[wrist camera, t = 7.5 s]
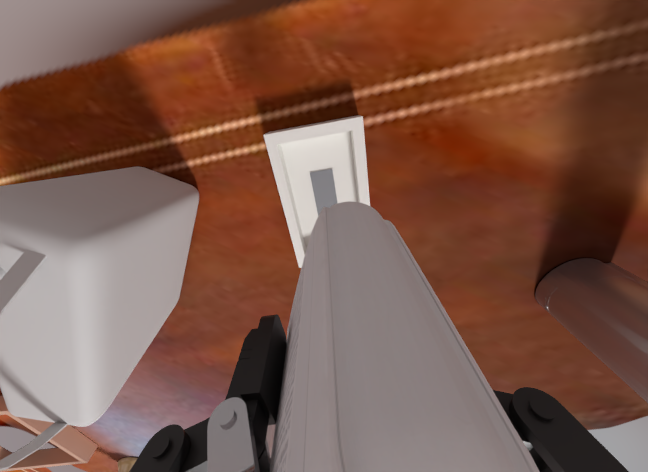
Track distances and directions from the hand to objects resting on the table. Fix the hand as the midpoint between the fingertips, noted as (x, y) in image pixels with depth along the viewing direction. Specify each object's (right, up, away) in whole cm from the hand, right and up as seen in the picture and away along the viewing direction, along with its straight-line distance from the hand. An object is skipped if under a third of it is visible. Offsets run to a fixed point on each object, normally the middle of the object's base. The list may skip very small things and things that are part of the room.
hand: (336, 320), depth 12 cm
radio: (-21, +4, +18) cm, 28 cm away
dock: (0, +9, +16) cm, 18 cm away
